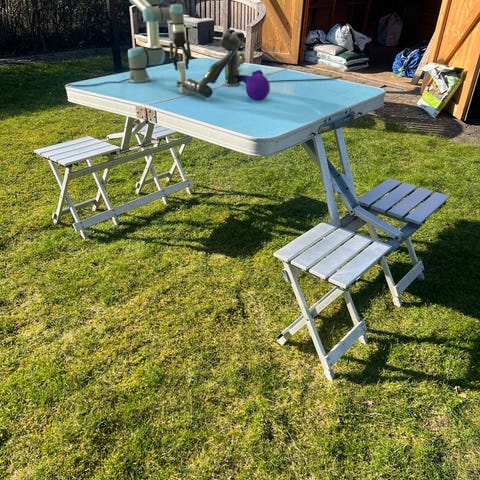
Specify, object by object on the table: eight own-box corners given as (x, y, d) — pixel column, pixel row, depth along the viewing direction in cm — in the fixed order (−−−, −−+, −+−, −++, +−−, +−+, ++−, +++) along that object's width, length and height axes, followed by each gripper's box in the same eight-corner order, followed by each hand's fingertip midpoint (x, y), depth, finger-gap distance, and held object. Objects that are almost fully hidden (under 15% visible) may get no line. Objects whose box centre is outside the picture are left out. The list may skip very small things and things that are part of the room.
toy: (254, 92, 298) (269, 106, 277) (229, 87, 290) (243, 101, 270) (261, 68, 290) (277, 80, 269) (236, 62, 282) (250, 75, 262)
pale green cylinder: (187, 91, 305) (185, 63, 296) (185, 92, 302) (183, 64, 293) (181, 91, 306) (179, 63, 297) (179, 92, 303) (177, 64, 293)
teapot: (225, 72, 363) (224, 52, 355) (218, 70, 371) (218, 50, 364) (248, 69, 372) (247, 50, 364) (241, 67, 381) (240, 48, 373)
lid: (182, 67, 293) (181, 63, 292) (176, 66, 295) (176, 63, 294) (186, 66, 296) (186, 62, 295) (180, 65, 299) (180, 62, 297)
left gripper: (190, 30, 292) (193, 67, 304) (161, 32, 284) (165, 70, 295) (195, 31, 286) (197, 69, 298) (166, 33, 278) (169, 72, 290)
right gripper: (201, 78, 292) (189, 74, 304) (181, 81, 285) (170, 77, 298) (202, 90, 295) (190, 86, 308) (182, 93, 289) (171, 88, 301)
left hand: (181, 69), depth 297 cm, fingers open, 7 cm apart
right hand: (180, 81), depth 303 cm, fingers closed on pale green cylinder, 4 cm apart
